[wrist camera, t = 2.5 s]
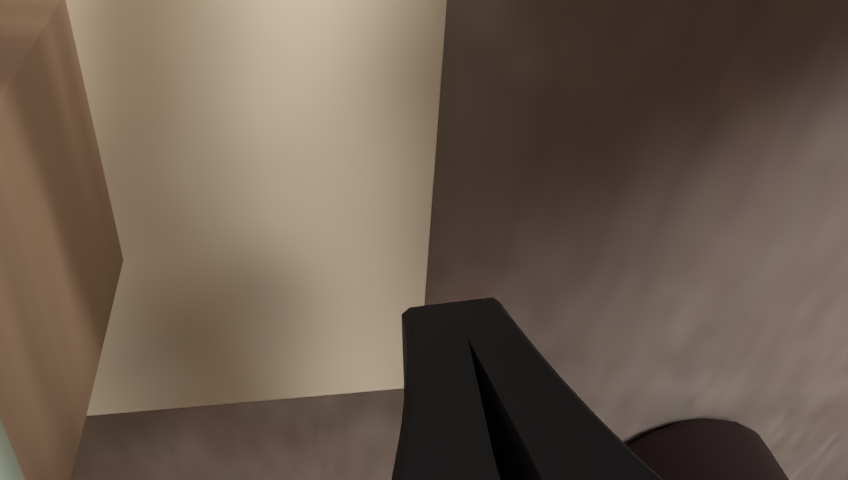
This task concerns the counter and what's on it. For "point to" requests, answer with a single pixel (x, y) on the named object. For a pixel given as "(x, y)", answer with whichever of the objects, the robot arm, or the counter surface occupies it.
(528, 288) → the counter surface
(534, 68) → the counter surface
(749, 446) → the bottle
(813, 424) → the counter surface
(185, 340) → the birch board
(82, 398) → the walnut block
